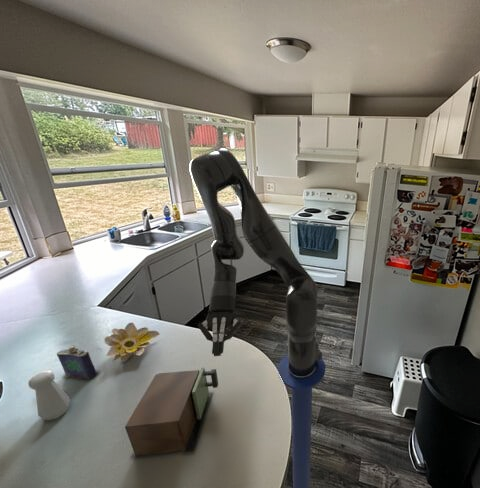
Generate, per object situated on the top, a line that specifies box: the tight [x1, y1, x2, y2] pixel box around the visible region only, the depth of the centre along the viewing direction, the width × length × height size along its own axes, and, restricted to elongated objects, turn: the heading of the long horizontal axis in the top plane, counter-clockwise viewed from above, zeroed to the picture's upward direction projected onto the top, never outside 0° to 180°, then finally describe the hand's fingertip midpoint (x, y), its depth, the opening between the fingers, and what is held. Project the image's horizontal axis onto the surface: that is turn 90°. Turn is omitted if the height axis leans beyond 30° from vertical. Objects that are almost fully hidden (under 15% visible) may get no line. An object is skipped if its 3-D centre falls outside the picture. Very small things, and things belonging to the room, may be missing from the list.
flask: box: [56, 344, 98, 380], centre depth 76 cm, size 9×3×11 cm, turn 85°
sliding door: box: [192, 366, 219, 420], centre depth 67 cm, size 4×8×10 cm, turn 8°
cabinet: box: [124, 369, 212, 457], centre depth 63 cm, size 13×15×10 cm
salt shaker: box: [28, 370, 71, 421], centre depth 64 cm, size 6×6×13 cm
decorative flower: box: [103, 322, 161, 363], centre depth 85 cm, size 15×11×10 cm
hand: (217, 355), depth 73 cm, fingers closed
